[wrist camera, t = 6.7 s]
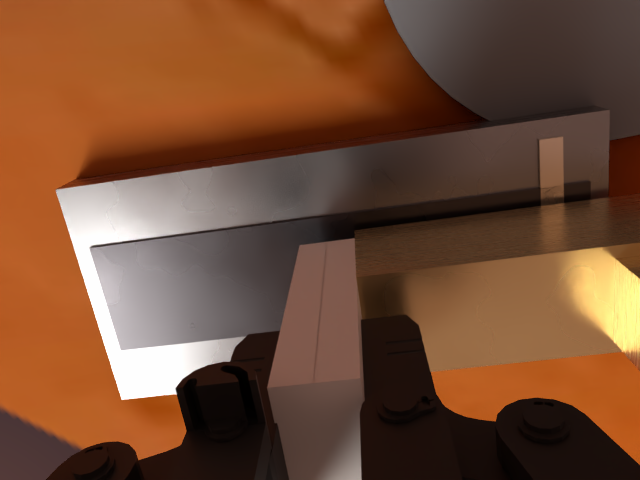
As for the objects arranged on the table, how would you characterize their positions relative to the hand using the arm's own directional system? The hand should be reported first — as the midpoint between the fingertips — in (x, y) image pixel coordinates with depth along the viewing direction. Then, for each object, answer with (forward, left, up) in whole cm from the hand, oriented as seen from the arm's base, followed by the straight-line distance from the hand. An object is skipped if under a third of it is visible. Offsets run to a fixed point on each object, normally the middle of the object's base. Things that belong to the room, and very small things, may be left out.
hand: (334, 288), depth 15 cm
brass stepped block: (0, +5, -1) cm, 5 cm away
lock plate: (0, 0, -2) cm, 2 cm away
